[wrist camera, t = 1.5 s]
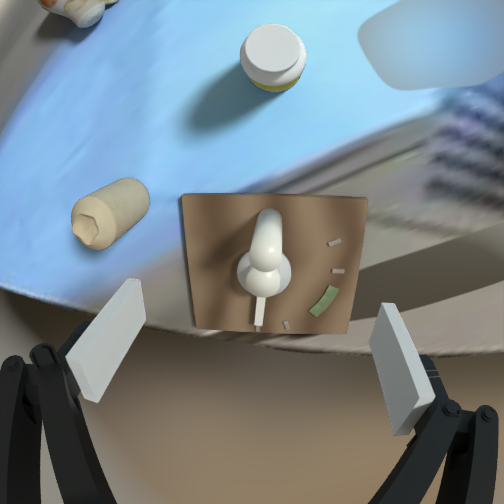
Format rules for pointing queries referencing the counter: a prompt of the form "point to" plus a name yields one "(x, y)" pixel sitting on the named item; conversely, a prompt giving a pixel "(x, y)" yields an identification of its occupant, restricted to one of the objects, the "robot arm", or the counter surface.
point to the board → (293, 246)
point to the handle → (265, 262)
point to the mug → (78, 10)
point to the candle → (109, 212)
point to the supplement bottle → (273, 57)
